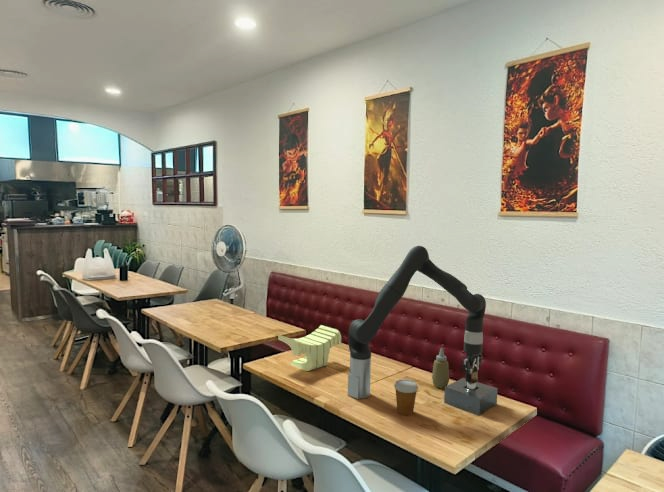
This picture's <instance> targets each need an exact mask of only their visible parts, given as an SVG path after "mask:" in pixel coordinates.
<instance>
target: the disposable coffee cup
mask: <svg viewBox="0 0 664 492" xmlns="http://www.w3.org/2000/svg"><path fill="white" fill-rule="evenodd" d="M393 387H394V389H395V399H396V409H397V410H396V411H397V413H398V414H400V415H402V416H411V415H413V414H414V408H415V403H416V397H417V391H418V390H419V386H418V383H417V382H416V381H414V380H411V379H406V378H405V379H403V378H402V379H398V380H396V381H395V383H394V386H393Z"/></svg>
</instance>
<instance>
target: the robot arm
mask: <svg viewBox="0 0 664 492" xmlns="http://www.w3.org/2000/svg"><path fill="white" fill-rule="evenodd" d="M417 272H419V273H421V274H423V275H424V276H426V277H428V278H429V279H431V280H432V281H434V282H435V283H436V284H437V285H439V286H440V287H441V288H442V289H443V290H445V291H446V293H447V292H448V294H450V295H451V296H453V298H455V299H456V300H457V302H458V303H459V304H461V306H462V307H463V308H464V309H465V310H467V311H468V315H467V316H466V319H465V328H464V336H463V337H464V339H463V351H464V353H465V354H466V356H465V358H464V359H462V360H461V362H462V363H461V364H462V373H465V378H466V381H467V382H471V377H472V374H471V373H472V370H475V371H477V372H478V371H479V369H481V366H482V361H483V354H482V353H483V346H484V345H483V343H484V342H483V341H484V340H483V339H484V335H483V333H484V332H483V330H484V329H483V327H484V323H483V322H484V318H485V313H486V309H487V308H486V307H487V302H486V301H487V300H486V298H485V297H484V296H483V295H482V294H481V293H474V294H473V293H472V292H471V291H469V289H468V287H467V285H466V284H464V283H463V282H462V281H461V280H460V279H458V278H457V277H456V276H454V275H452V273H451V274H450V273H449V272H447V271H445V270H442V269H441V268H439V266H437V265H436V264H435V263H434V262H432V260H431V259H430V256H429V251H428V249H426V247H424V246H423V245H417V246H413V247H412V248H411V249H410V250H409V251H408V252H407V254H406V255H405V258H404V259H403V260H402V263H401V264H400V266H399V267H398V268H397V270H396V271H395V272H394V273H393V274H392V276H391V277H390V278H389V279H388V281H387V282H386V283H385V284H384V285H383V286H382V288H381V289H380V291H379V293H378V294H377V297H376V299H375V302H374V305H373V309H372V311H371V312H370V313H369V315H368V316H367V317H366V319H364V320H363V319H361V318H359V319H354V320H353V321H352V322H351V324H350V325H349V328H348V350H349V354H350V355H349V373H348V374H347V395H348V396H350V397H351V398H354V399H356V400H358V399H366V398H369V397H370V395H371V372H372V371H371V369H372V368H371V367H372V365H371V364H372V350H371V348H370V345H369V343H370V342H372V340H373V339H374V338H375V336H376V335H377V333H378V332H379V330H380V328H381V327H382V324H383V323H384V322H385V321H386V319H387V317H389V314H391V312H392V310H393V309H394V308H395V307H396V305H397V304H398V303H399V302H400V301H401V299H402V298H403V296H404V294H405V293H406V291H407V290H408V287H409V284H410V283H411V282H410V281H411V280H412V278H413V276H414V275H415V273H417ZM478 373H479V372H478Z"/></svg>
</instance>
